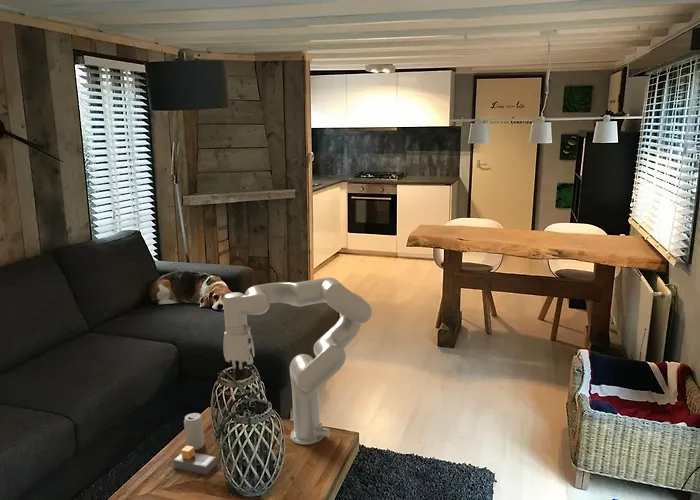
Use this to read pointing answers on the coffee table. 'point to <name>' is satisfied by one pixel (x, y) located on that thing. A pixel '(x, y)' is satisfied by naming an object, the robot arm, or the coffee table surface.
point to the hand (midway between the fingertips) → (240, 378)
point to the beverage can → (194, 430)
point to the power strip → (196, 463)
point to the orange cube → (188, 452)
